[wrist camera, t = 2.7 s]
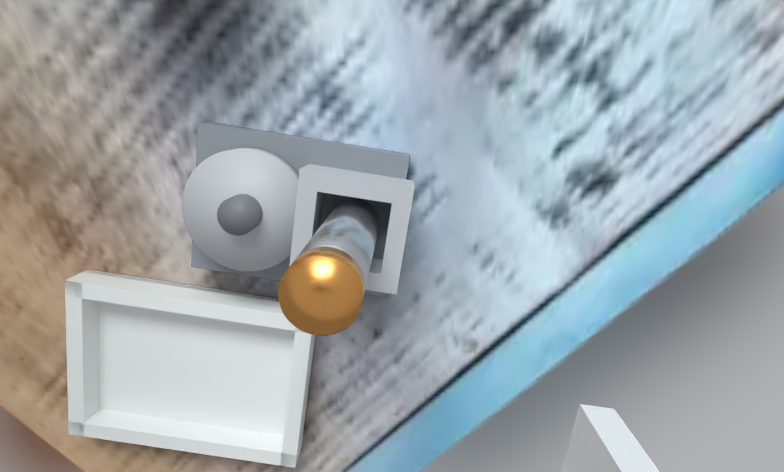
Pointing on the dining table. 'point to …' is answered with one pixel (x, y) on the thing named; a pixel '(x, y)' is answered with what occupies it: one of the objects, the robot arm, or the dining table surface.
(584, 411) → the robot arm
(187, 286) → the tray
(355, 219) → the pin
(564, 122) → the dining table surface
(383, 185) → the tensioner block
